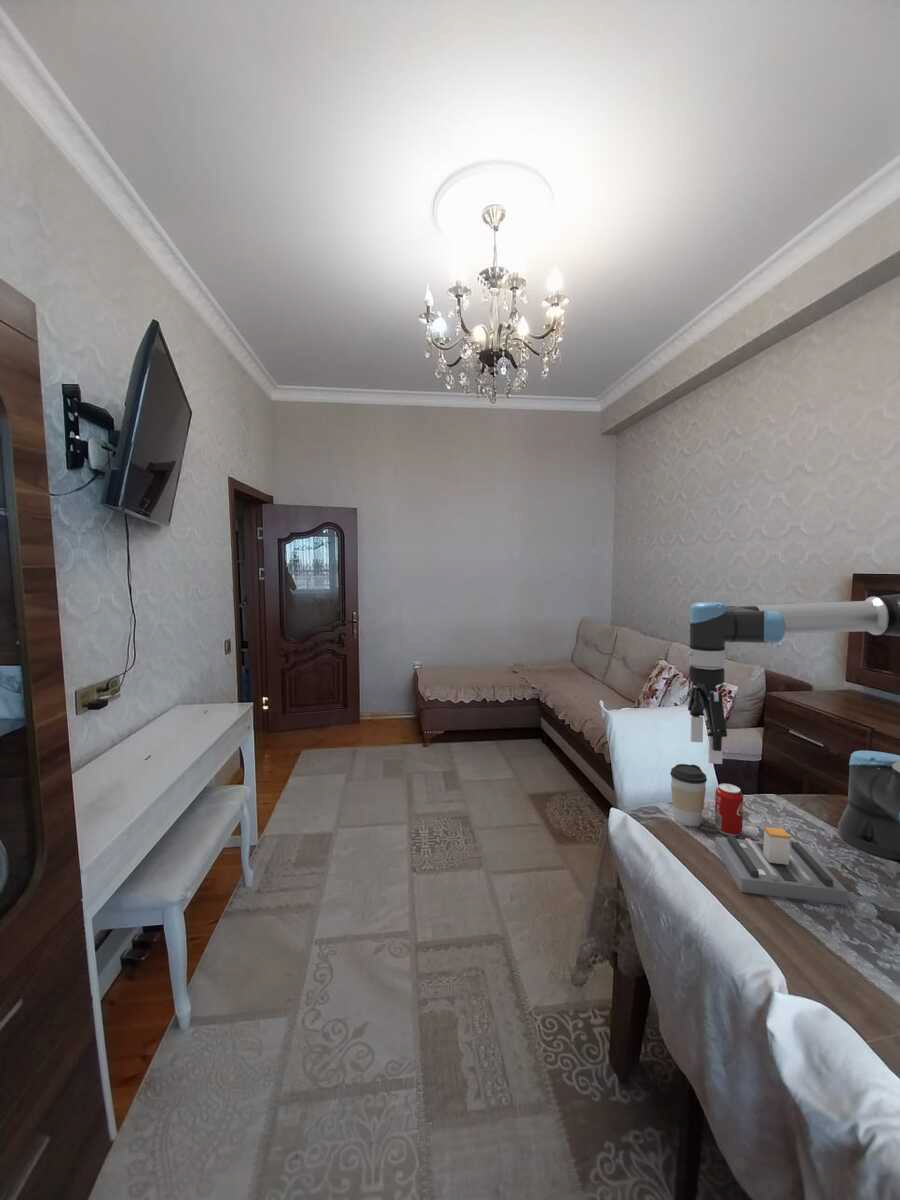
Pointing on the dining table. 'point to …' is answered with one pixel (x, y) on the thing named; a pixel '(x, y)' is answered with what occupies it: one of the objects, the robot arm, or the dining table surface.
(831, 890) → the panel
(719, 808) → the beverage can
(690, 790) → the coffee cup
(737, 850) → the dark grey rail
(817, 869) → the dark grey bar
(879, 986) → the dining table surface
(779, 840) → the orange-topped grey block
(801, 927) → the dining table surface
